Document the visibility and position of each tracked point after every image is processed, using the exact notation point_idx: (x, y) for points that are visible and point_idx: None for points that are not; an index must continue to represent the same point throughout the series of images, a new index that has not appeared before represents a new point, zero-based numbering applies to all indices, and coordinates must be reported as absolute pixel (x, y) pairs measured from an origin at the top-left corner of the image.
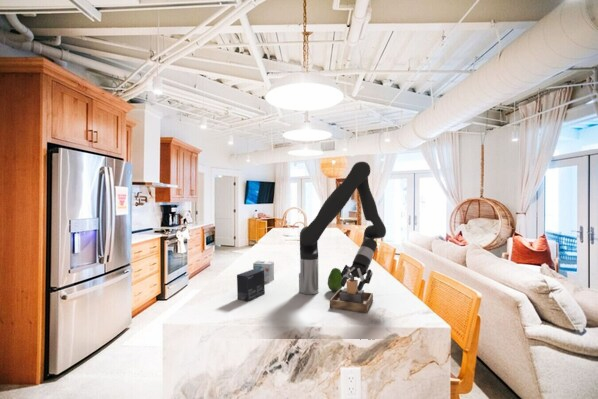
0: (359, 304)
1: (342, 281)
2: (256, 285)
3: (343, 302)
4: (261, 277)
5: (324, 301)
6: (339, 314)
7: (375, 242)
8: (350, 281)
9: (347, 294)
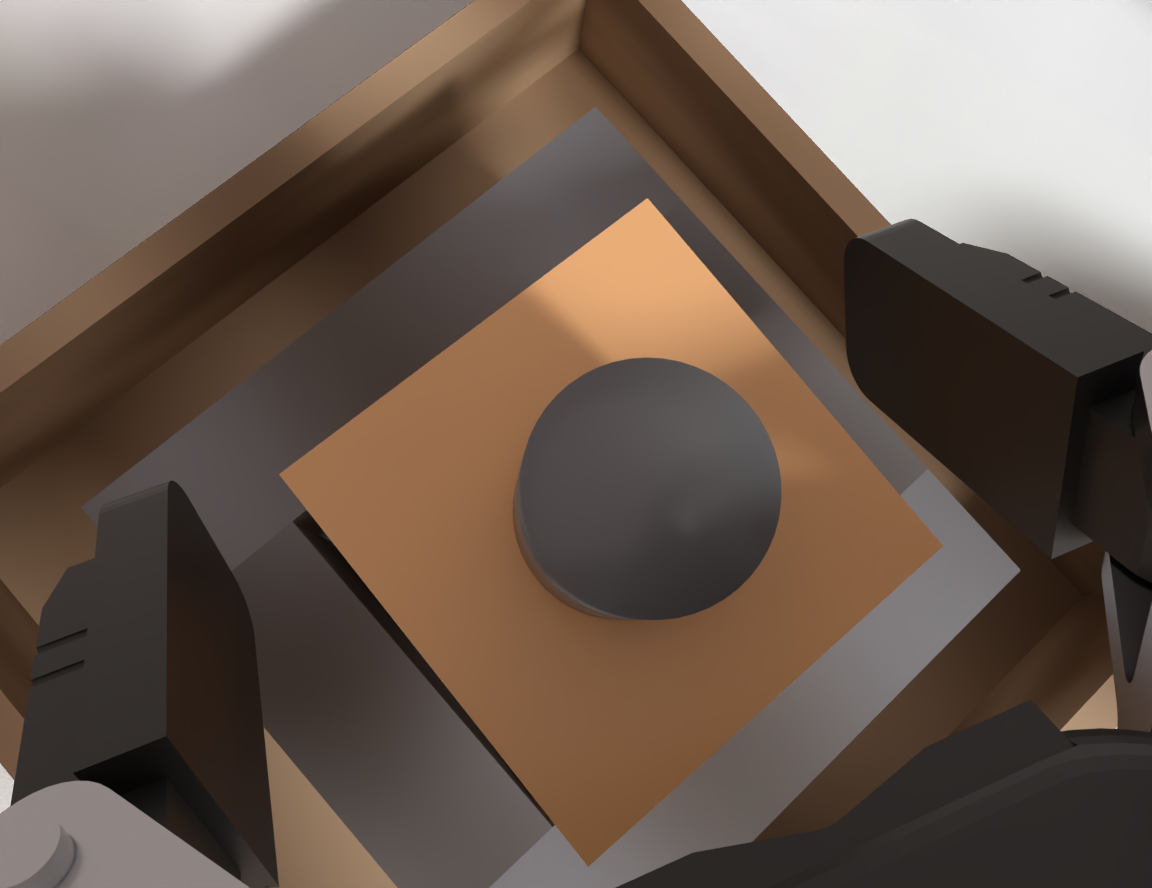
0: None
1: (975, 269)
2: None
3: (323, 118)
4: None
5: (942, 133)
6: (201, 6)
7: None
8: (547, 352)
9: (420, 261)
